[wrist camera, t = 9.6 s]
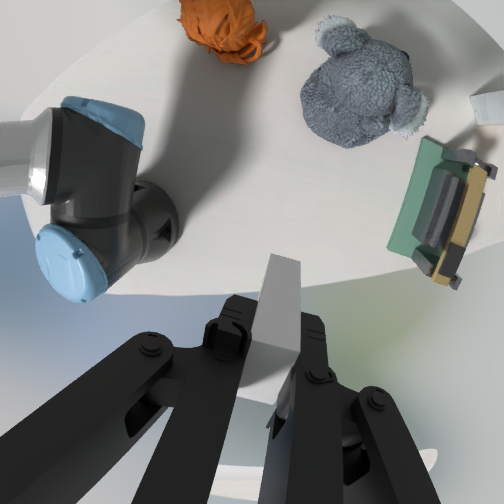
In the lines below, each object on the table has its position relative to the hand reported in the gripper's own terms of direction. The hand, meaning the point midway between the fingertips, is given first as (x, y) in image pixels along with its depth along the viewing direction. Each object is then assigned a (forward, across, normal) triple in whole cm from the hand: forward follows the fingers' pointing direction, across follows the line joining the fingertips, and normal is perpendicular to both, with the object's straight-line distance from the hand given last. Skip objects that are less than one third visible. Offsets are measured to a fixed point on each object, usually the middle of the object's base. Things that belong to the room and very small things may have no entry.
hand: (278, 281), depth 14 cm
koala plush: (+32, +6, +17) cm, 37 cm away
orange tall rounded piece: (+33, -14, +22) cm, 42 cm away
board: (+32, +26, +5) cm, 41 cm away
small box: (+32, +32, +27) cm, 53 cm away
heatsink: (+32, +26, +5) cm, 41 cm away
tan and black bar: (+23, +26, +5) cm, 35 cm away
